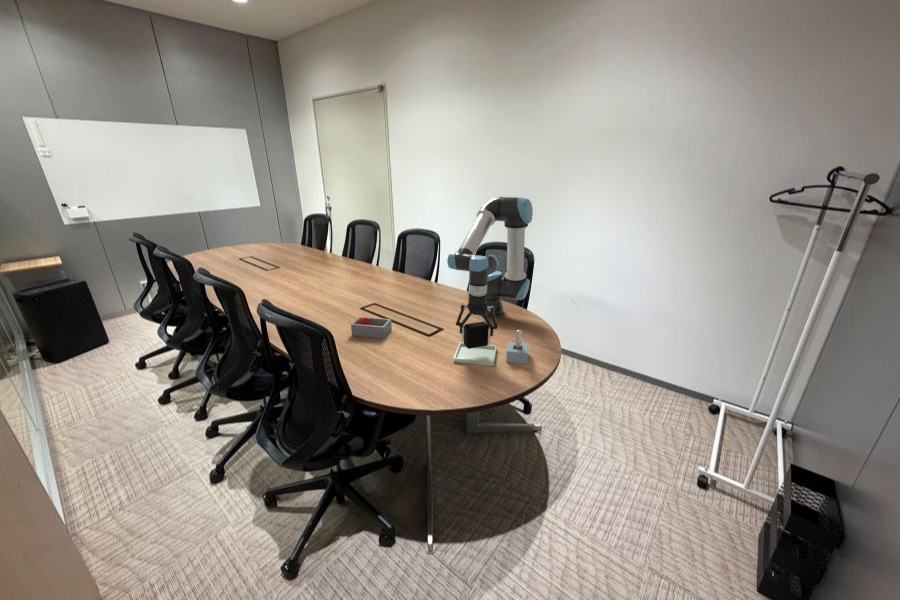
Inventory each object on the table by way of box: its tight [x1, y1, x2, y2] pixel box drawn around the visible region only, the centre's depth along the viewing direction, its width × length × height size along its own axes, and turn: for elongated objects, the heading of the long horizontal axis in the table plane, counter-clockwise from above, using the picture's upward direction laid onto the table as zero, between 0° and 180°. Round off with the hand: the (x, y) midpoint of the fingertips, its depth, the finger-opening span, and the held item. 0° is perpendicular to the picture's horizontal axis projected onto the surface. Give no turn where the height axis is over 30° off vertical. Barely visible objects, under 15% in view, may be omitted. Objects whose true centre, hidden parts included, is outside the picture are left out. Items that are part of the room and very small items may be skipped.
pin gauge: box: [515, 329, 523, 350], centre depth 157 cm, size 2×2×12 cm
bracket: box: [357, 316, 372, 325], centre depth 182 cm, size 12×4×8 cm, turn 117°
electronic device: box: [463, 320, 489, 349], centre depth 157 cm, size 4×10×10 cm, turn 111°
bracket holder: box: [350, 316, 393, 340], centre depth 181 cm, size 10×17×6 cm, turn 78°
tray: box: [452, 341, 498, 367], centre depth 161 cm, size 15×17×2 cm
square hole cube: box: [505, 341, 529, 364], centre depth 159 cm, size 9×9×5 cm
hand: (476, 341), depth 159 cm, fingers closed on electronic device, 11 cm apart
